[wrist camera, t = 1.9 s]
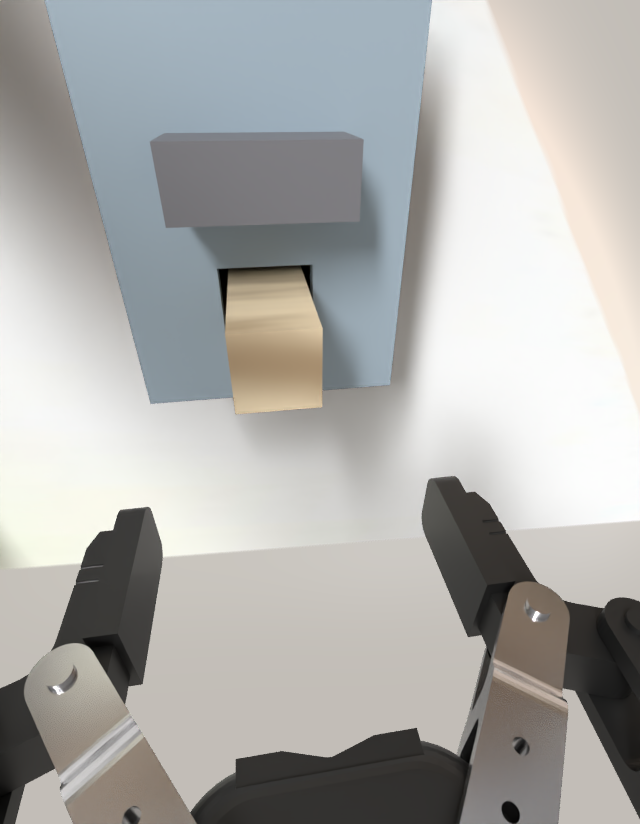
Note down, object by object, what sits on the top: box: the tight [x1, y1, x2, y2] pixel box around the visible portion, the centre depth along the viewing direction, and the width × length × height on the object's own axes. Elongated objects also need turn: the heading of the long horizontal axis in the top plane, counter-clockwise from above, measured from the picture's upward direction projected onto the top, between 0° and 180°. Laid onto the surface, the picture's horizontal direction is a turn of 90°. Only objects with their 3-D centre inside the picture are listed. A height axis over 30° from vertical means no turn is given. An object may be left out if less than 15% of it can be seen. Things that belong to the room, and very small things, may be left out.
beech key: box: [225, 265, 323, 414], centre depth 26 cm, size 4×4×16 cm
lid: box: [45, 0, 432, 404], centre depth 20 cm, size 23×15×5 cm, turn 0°
